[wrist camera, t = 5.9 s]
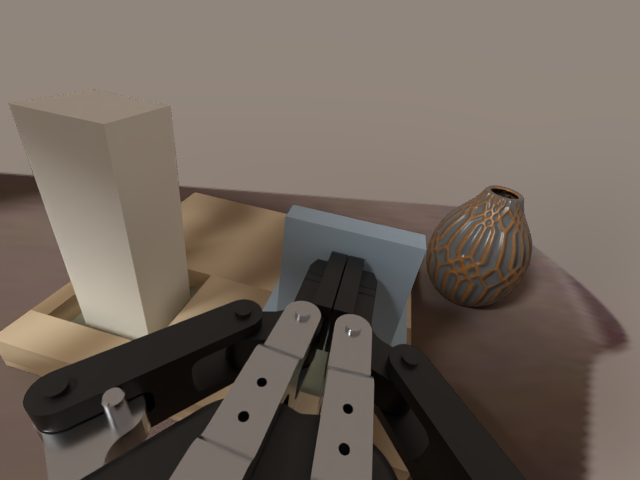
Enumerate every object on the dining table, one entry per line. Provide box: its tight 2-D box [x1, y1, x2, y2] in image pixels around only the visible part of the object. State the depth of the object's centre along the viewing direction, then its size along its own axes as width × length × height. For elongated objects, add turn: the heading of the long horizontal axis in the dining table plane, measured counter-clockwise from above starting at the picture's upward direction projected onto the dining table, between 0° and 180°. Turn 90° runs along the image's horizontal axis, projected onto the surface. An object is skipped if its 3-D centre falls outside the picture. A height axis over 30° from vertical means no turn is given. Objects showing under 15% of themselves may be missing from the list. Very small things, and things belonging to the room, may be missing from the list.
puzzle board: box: [0, 192, 411, 480], centre depth 23 cm, size 20×18×2 cm
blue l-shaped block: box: [262, 205, 426, 347], centre depth 19 cm, size 8×8×7 cm
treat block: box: [9, 90, 190, 340], centre depth 17 cm, size 4×4×12 cm
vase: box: [427, 185, 532, 307], centre depth 25 cm, size 7×7×9 cm
